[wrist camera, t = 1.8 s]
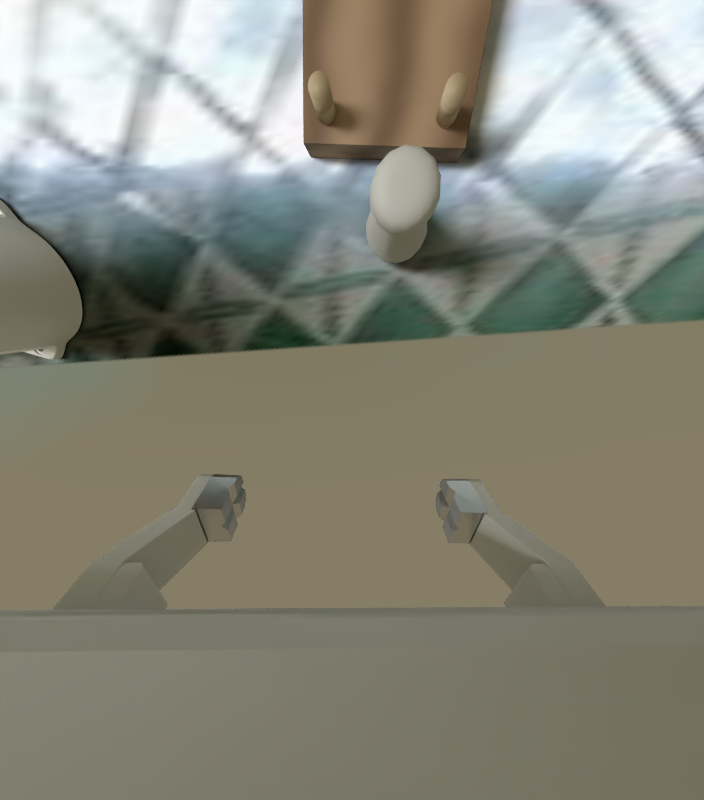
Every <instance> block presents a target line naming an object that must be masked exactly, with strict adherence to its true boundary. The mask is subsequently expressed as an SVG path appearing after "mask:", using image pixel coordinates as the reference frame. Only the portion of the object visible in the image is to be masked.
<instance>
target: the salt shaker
mask: <svg viewBox="0 0 704 800" xmlns="http://www.w3.org/2000/svg"><path fill="white" fill-rule="evenodd" d="M440 178H441V175H440V172H439V169H438V167H437V164H436V161H435V158H434V157H433V156H432V155H430V154H429V153H428V152H427V151H426V150H425V149H423V148H422V147H419V146H412V145H406V144H405V145H403V146H401V147H399V148H397V149H395V150H392V151H390V152H389V153H388V154H387V155H386V157H385V158H384V159H383V160H382V161H381V162H380V164H379V165H378V166H377V168H376V171H375V174H374V177H373V180H372V183H371V187H370V208H371V212H370V215H369V218H368V221H367V224H366V230H367V241H368V243H369V245H370V247H371V249H372V252H373V253H374V254H375V255H376V256H378V257H379V258H380V259H381V260H383V261H384V262H391V263H399V262H402V261H405V260H408V259H410V258H411V257H412V256H413V255H414V254H415V253H416V252H417V251H418V250H419V249H420V248H421V246H422V243H423V241H424V239H425V237H426V235H427V221H428V220H429V219H430V218H431V217H432V215H433V213H434V210H435V208H436V206H437V203H438V201H439V199H440Z"/></svg>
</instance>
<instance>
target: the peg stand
mask: <svg viewBox="0 0 704 800" xmlns="http://www.w3.org/2000/svg"><path fill="white" fill-rule="evenodd" d="M492 3H493V0H303V117H304V145H305V147H306V149H307V150H308V152H309V154H310V156H311V157H326V158H353V159H380V160H383V159H384V158H385V157H386V155H387V154H388V153H389V152H390V151H392V150H395V149H397V148H399V147H401V146H403V145H405V144H406V145H412V146H419V147H422V148H423V149H425V150H426V151H427V152H428V153H429V154H430V155H432V156H433V157H434V158H435V161H436V162H458V160H459V158H460V156H461V155H462V153H463V151H464V150H465V147H466V142H467V136H468V131H469V126H470V120H471V115H472V110H473V104H474V99H475V94H476V88H477V83H478V77H479V72H480V67H481V61H482V56H483V51H484V45H485V40H486V35H487V29H488V24H489V19H490V13H491V8H492Z"/></svg>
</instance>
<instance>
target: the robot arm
mask: <svg viewBox="0 0 704 800" xmlns="http://www.w3.org/2000/svg"><path fill="white" fill-rule="evenodd" d="M81 321H82V302H81V297H80V294H79V290H78V288H77V285H76V283H75V280H74V278H73V276H72V274H71V272H70V271H69V269H68V267H67V266H66V264H65V263H64V261H63V260H62V259H61V257H60V256H59V255H58V254H57V252H56V251H55V250H54V249H53V248H52V247H51V246H50V245H49V244H48V243H47V242H46V241H45V240H44V239H42V238H41V237H40V236H39V235H38V234H36V233H35V232H33V231H32V230H30V229H29V228H28V227H26V226H25V225H24V224H23V223H21V222H20V221H19V220H18V218H17V217H16V216H15V215H14V214H13V212H12V211H11V210H10V209H9V208H8V207H7V206H6V204H5V203H4V202H3V201H1V200H0V354H7V353H15V352H26V353H30V354H33V355H37V356H40V357H44V358H47V359H58V358H61V357H62V356H63V354H64V351H65V346H66V343H67V342H68V341H69V340H70V339H71V338H72V337H73V336H74V335H75V334H76V333H77V331H78V329H79V327H80V325H81ZM242 484H243V479H242V476H240V475H221V474H201V475H199V476H198V477H197V478H196V480H195V481H194V483H193V484H192V485H191V487H190V488H189V490H188V492H187V493H186V494H185V496H184V497H183V499H182V500H181V502H180V503H179V505H178V506H177V508H176V509H171V510H170V511H168V512H167V513H165V514H163V515H162V516H160V517H159V518H157V519H156V520H154V521H153V522H151V523H150V524H149V525H147V526H145V527H144V528H142V529H141V530H139V531H138V532H136V533H135V534H133V535H132V536H130V537H129V538H127V539H125V540H124V541H122V542H121V543H119V544H118V545H116V546H115V547H113V548H112V549H110V550H109V551H107V552H106V553H104V554H103V555H101V556H100V557H98V558H97V559H95V560H93V561H92V562H91V564H90V565H89V566H88V567H87V568H86V569H85V571H84V572H83V573H82V574H81V575H80V577H79V578H78V579H77V580H76V582H75V583H74V584H73V585H72V586H71V588H70V589H69V590H68V591H67V592H66V593H65V595H64V596H63V597H62V598H61V599H60V601H59V602H58V603H57V604H56V605H55V607H54V608H53V609H52V610H0V800H704V606H617V607H616V606H613V607H612V606H611V607H610V606H609V607H606V606H605V604H604V603H603V602H602V600H601V599H600V598H599V596H598V595H597V594H596V592H595V591H594V590H593V588H592V587H591V586H590V584H589V583H588V582H587V580H586V579H585V578H584V576H583V575H582V574H581V572H580V571H579V570H578V569H577V567H576V566H575V564H574V563H572V562H571V561H570V560H569V559H567V558H566V557H564V556H563V555H562V554H560V553H559V552H557V551H556V550H555V549H554V548H552V547H551V546H549V545H548V544H547V543H545V542H544V541H542V540H541V539H540V538H538V537H537V536H536V535H534V534H533V533H532V532H530V531H528V530H527V529H526V528H525V527H523V526H522V525H521V524H519V523H518V522H516V521H515V520H514V519H512V518H511V517H510V516H508V515H507V514H502V513H501V511H500V509H499V508H498V506H497V505H496V503H495V501H494V500H493V498H492V497H491V495H490V493H489V492H488V490H487V489H486V487H485V485H484V484H483V482H482V481H481V480H479V479H467V480H466V479H443V480H442V481H441V483H440V487H441V491H440V492H438V493H437V497H436V509H437V512H438V515H439V517H440V518H441V519H442V520H443V521H444V524H443V529H444V532H445V534H446V537H447V540H448V542H449V543H468V544H470V545H471V547H473V549H474V550H475V551H476V552H477V553H478V554H479V555H480V556H481V557H482V558H483V559H484V560H485V562H486V563H487V564H488V565H489V566H490V567H491V568H492V569H493V570H494V571H495V572H496V573H497V574H498V576H499V577H500V578H501V579H502V580H503V581H504V582H505V583H506V584H507V585H508V586H509V587H510V588H511V590H512V591H511V593H510V594H509V596H508V597H507V598H506V600H505V602H504V605H505V607H428V608H427V607H426V608H425V607H424V608H421V607H420V608H419V607H417V608H254V609H253V608H248V609H247V608H245V609H166V608H167V601H166V600H165V598H164V597H163V595H162V593H161V592H160V589H161V588H162V587H163V586H164V585H166V583H167V582H168V581H170V579H171V578H173V577H174V576H175V575H176V574H177V573H178V572H179V571H180V570H181V569H182V568H183V567H184V566H185V565H186V564H187V563H188V562H189V561H190V560H191V559H192V558H193V557H194V556H195V555H196V554H197V553H198V552H199V551H200V550H201V549H202V548H203V547H204V546H205V545H206V544H207V542H219V541H220V542H221V541H231V540H232V538H233V535H234V532H235V530H236V528H237V520H236V519H237V518H238V517H239V516H240V515H242V513H243V510H244V507H245V502H246V492H245V489H243V488H242V487H241V486H242Z"/></svg>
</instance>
